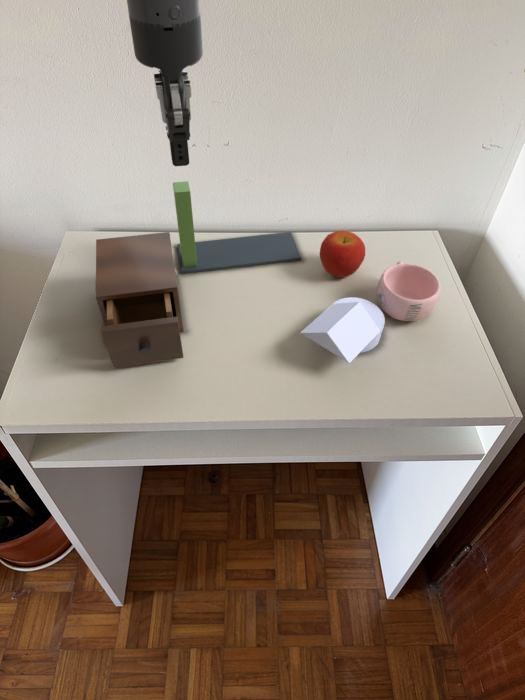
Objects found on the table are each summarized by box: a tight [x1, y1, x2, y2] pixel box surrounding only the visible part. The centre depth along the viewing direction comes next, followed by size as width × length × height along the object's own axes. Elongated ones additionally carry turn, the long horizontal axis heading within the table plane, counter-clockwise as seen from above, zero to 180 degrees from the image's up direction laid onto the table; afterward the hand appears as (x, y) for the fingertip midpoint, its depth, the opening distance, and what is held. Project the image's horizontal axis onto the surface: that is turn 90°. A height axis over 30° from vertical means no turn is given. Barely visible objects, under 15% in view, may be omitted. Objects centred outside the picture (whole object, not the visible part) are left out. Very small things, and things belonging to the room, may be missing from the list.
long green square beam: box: [172, 180, 197, 267], centre depth 85 cm, size 2×3×15 cm
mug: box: [376, 260, 442, 322], centre depth 83 cm, size 12×10×6 cm
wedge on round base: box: [300, 296, 386, 364], centre depth 77 cm, size 9×7×13 cm
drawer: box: [101, 292, 184, 369], centre depth 75 cm, size 14×10×8 cm
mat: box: [177, 231, 302, 275], centre depth 93 cm, size 22×8×1 cm, turn 102°
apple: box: [319, 230, 366, 278], centre depth 87 cm, size 8×8×8 cm
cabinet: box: [95, 231, 184, 333], centre depth 79 cm, size 14×12×10 cm
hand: (180, 163), depth 65 cm, fingers closed
